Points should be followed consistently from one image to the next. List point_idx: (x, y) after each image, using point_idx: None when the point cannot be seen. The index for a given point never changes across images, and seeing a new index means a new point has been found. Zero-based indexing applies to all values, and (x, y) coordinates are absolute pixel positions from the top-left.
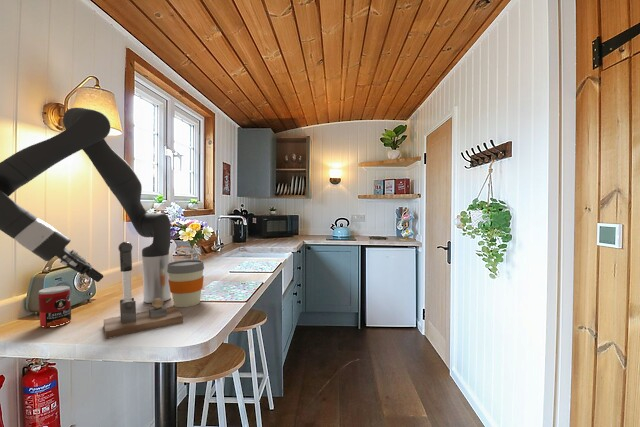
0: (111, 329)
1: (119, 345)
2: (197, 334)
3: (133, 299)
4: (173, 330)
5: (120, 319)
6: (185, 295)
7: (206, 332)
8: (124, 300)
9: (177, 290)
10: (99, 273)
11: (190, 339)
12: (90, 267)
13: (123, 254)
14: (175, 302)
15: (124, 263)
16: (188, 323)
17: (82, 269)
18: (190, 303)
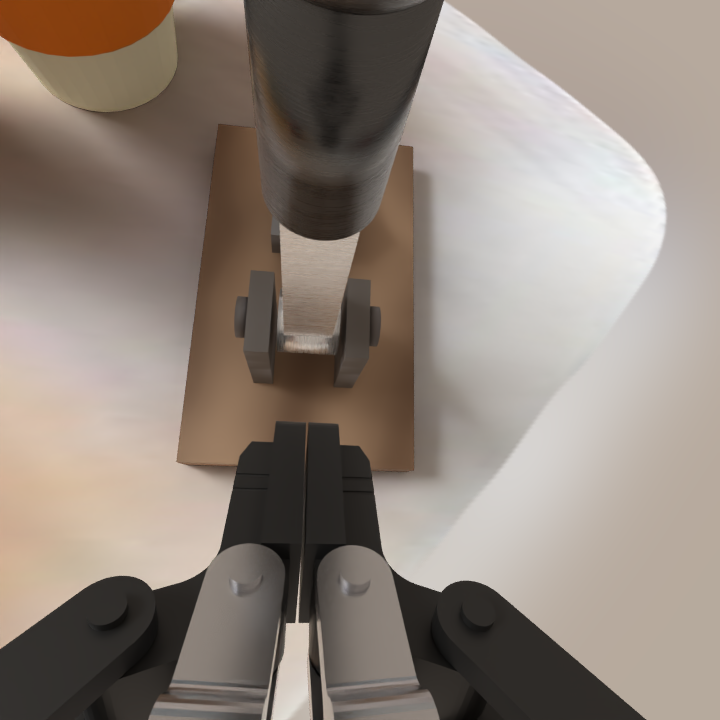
0: (399, 441)
1: (526, 429)
2: (581, 175)
3: (274, 277)
4: (483, 225)
5: (252, 383)
6: (161, 25)
7: (579, 147)
8: (331, 331)
9: (131, 23)
10: (340, 459)
11: (615, 209)
12: (476, 583)
13: (428, 32)
14: (115, 94)
15: (397, 145)
16: (436, 157)
17: (479, 705)
18: (176, 50)
